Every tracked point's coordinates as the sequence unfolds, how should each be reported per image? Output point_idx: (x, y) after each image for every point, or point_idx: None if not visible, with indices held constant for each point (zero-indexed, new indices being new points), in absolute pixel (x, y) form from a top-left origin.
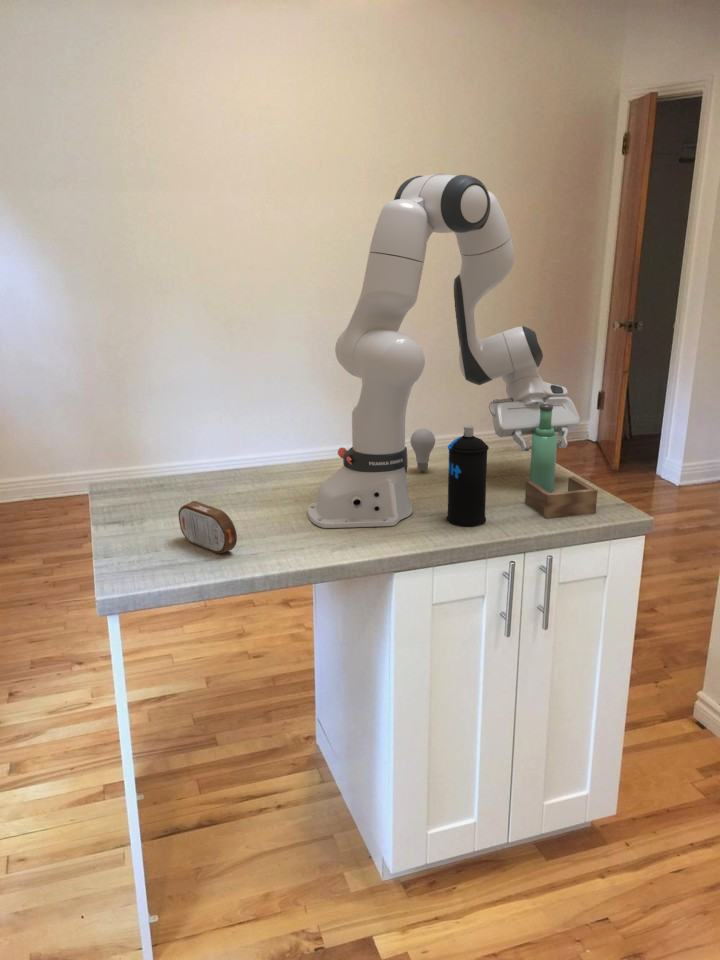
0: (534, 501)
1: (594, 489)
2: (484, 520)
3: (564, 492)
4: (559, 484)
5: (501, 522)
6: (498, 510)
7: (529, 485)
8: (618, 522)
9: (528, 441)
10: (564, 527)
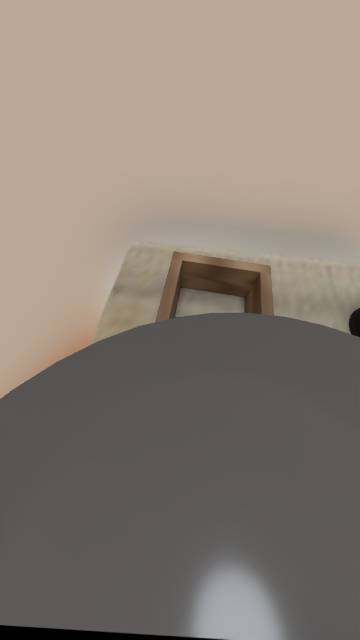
0: None
1: (174, 256)
2: (356, 311)
3: (234, 264)
4: None
5: (325, 305)
6: None
7: None
8: (171, 247)
9: None
10: (245, 260)
